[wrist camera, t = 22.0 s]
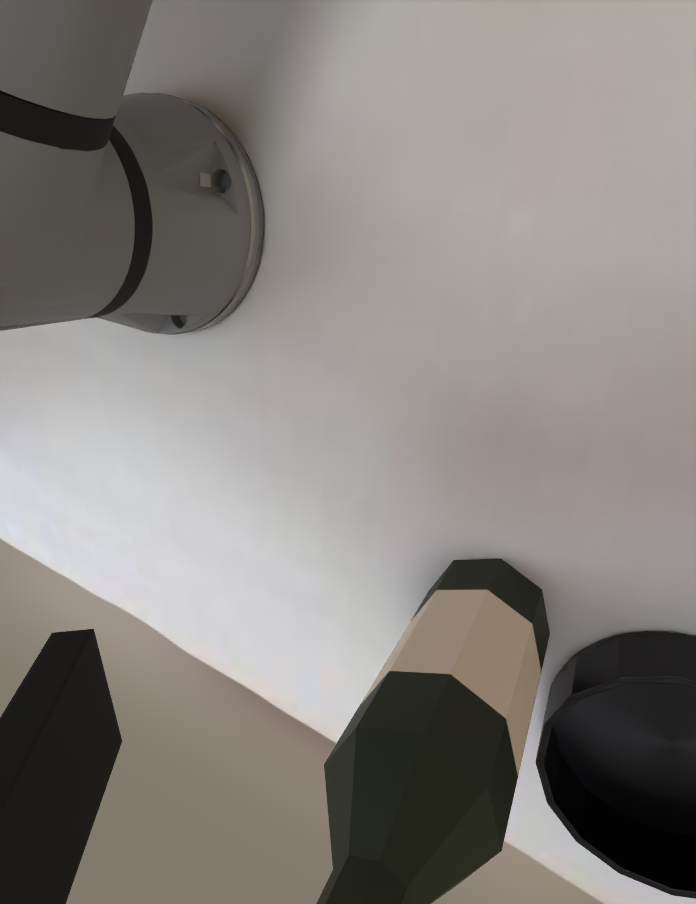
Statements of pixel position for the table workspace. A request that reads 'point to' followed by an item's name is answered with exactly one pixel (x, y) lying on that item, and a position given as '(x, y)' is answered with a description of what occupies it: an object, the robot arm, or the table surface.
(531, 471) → the table surface
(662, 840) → the frying pan
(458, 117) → the table surface
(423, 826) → the wine bottle
